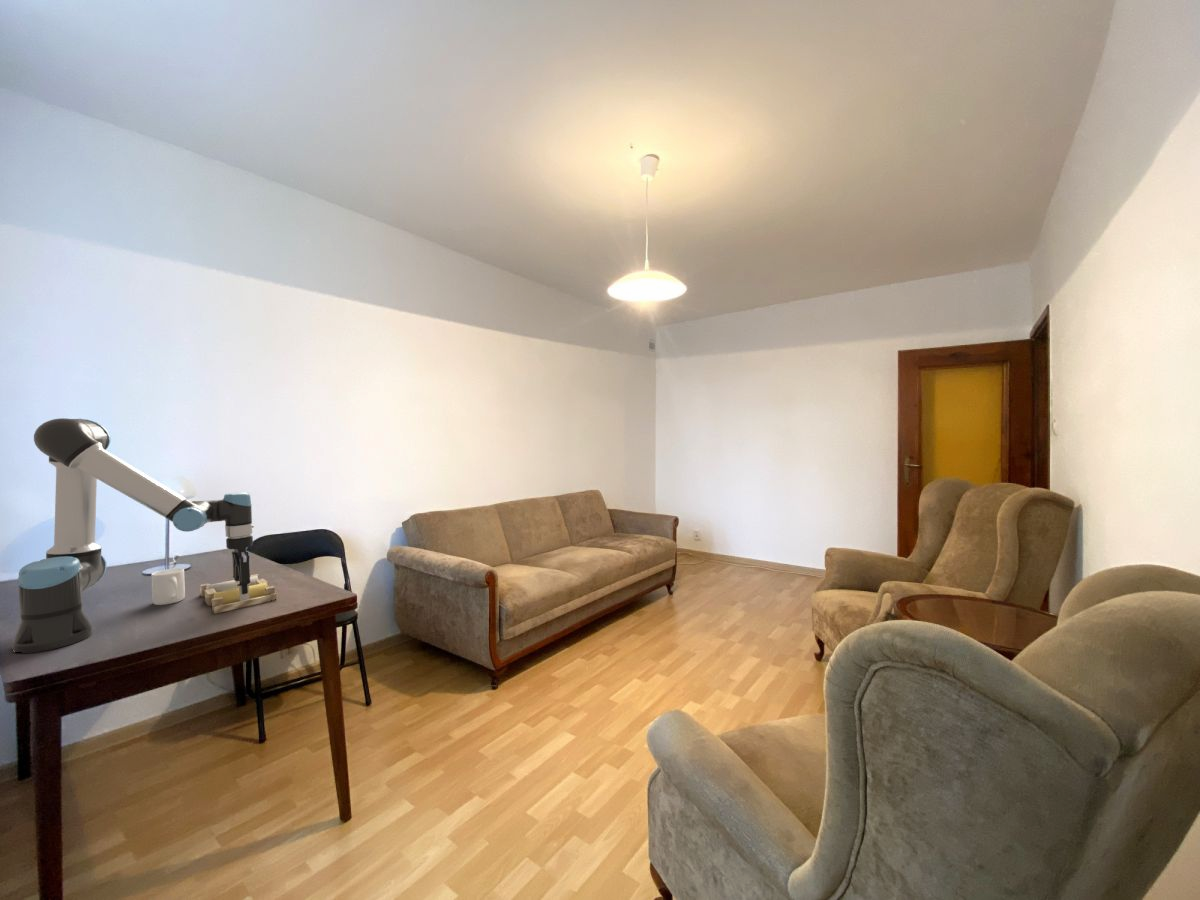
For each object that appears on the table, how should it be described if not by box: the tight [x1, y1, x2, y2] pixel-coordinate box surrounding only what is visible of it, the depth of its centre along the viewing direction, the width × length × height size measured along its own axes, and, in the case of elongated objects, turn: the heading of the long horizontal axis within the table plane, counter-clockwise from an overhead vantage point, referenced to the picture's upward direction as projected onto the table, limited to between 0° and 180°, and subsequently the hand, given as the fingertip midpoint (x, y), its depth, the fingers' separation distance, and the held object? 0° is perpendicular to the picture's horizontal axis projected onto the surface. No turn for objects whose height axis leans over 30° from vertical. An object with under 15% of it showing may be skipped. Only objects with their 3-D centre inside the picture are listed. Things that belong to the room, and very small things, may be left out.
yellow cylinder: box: [214, 583, 269, 605], centre depth 169 cm, size 15×5×5 cm, turn 138°
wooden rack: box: [199, 573, 278, 615], centre depth 173 cm, size 18×27×4 cm, turn 48°
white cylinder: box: [206, 576, 260, 593], centre depth 177 cm, size 15×5×5 cm, turn 138°
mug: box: [150, 567, 186, 606], centre depth 168 cm, size 9×12×11 cm
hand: (242, 600), depth 169 cm, fingers open, 5 cm apart
